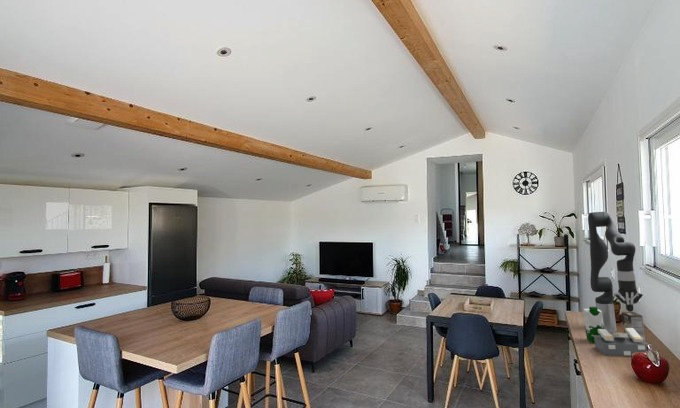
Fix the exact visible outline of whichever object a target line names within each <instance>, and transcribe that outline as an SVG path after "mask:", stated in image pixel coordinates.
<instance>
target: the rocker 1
mask: <svg viewBox="0 0 680 408" xmlns="http://www.w3.org/2000/svg"><path fill="white" fill-rule="evenodd" d="M598 333H599V334H600V335H601V336H602V337H603V338H604V339H605V340H606V341H614V337H615V336H612V333H611V332H608V331H607V330H606V329H598Z"/></svg>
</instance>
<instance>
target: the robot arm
mask: <svg viewBox="0 0 680 408" xmlns="http://www.w3.org/2000/svg"><path fill="white" fill-rule="evenodd" d="M587 224H588V230H589V233H588V234H589V253H590V254H589V255H590V257H589V258H590V278H589V279H590V281H589V282H590V289H591V291H592V292H593V293H602V295H599V296H597V297H595V298H594V299H595V307H597V308H598V309H599V310H600V311H602V315H603V324H604V329H606V330H607V331H608V332H609V333H617V323H616V313H615V307H614V306H615V305H614V297H615V298H616V299H618V300H619V301H620V302H621V303H622V304H624V305H625V310H626V311H627V312H634V304H638V303H639V301H640V300H641V298H642V297H643V295H644V294H642V293H640V292H638V290H637V284H636V275H635V270H634V258H635V255H636V246H635V244H634V243H633V242H631V241H630V242H629V241H627V242H625V238H624V237H623V235H622V234H621V233H620V232H619V230H618V229H617V227H616V224H615V222H614V220H613V218H612V217H611V214H610V213H609V212H607V211H596V212H595V211H594V212H593V211H592V212H589V213H588V216H587ZM603 227H604V228H605V227H606V230H605V232H604V236H605V239H606V240H607V241H608V243H609V245H610V251H611V253H612V254H613V255H614V256H619V257H620V256H625V257H624V258H622V259H618V260H616V269H617V273H616V275H617V284H618V285H617V286H618V291H617V292H616V293H614V292H613V291H614V289H613V288H614V287H613V281H612V279H611V278H610V277H609V276H599V275H600V271H601V269H602V268H603V267H604V266H605V264H606V263H607V261H608V259H609V248H608V245H607V244H606V243H605V241H604V240H603V239H602V238H601V236H600V235H599V233H598V230H597V228H603ZM622 297H623V298H622Z"/></svg>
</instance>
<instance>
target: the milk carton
mask: <svg viewBox="0 0 680 408" xmlns="http://www.w3.org/2000/svg"><path fill="white" fill-rule="evenodd" d="M582 311H583V321H584V328H585V329H584V330H585V335H586V339H587V341H588V342H589V343H590V344H595V341H594V336H601V335H600V334H599V333H598V329H604V324H603V315H602V311H600V310H599V309H598V308H597V307H596V306H589V308H583V310H582Z"/></svg>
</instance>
